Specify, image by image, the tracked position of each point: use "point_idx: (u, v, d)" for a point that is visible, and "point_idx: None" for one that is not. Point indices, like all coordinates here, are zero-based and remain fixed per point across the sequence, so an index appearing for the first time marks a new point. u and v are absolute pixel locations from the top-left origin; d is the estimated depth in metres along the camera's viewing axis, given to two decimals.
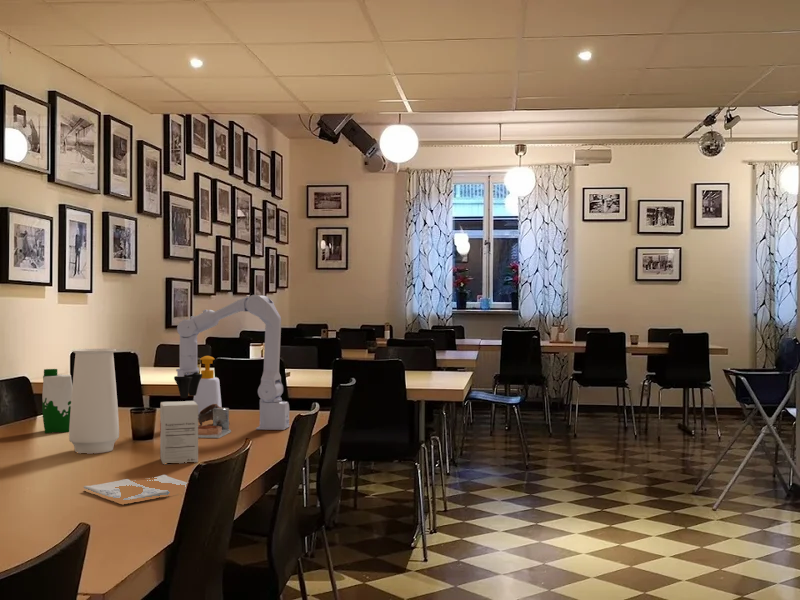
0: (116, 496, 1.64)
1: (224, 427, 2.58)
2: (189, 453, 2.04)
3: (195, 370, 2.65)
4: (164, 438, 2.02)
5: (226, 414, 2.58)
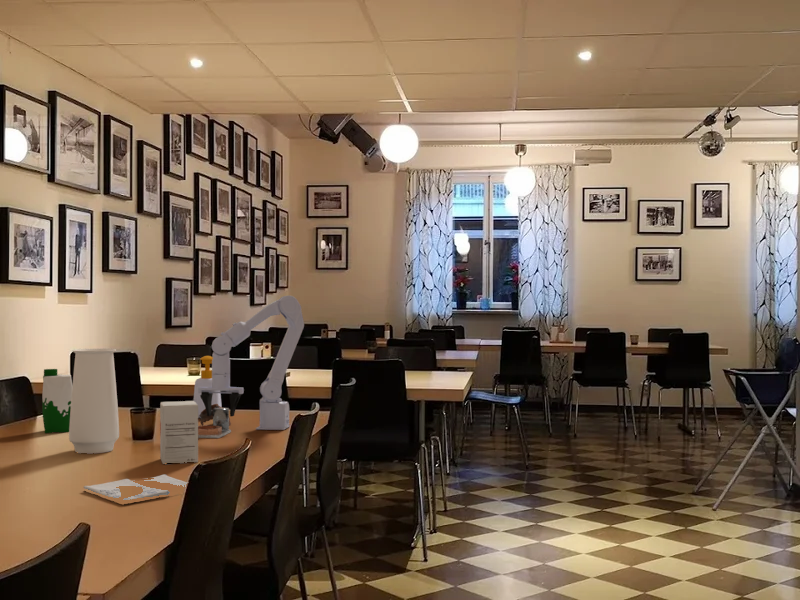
0: (116, 496, 1.64)
1: (224, 427, 2.58)
2: (189, 453, 2.04)
3: (214, 389, 2.57)
4: (164, 438, 2.02)
5: (226, 414, 2.58)
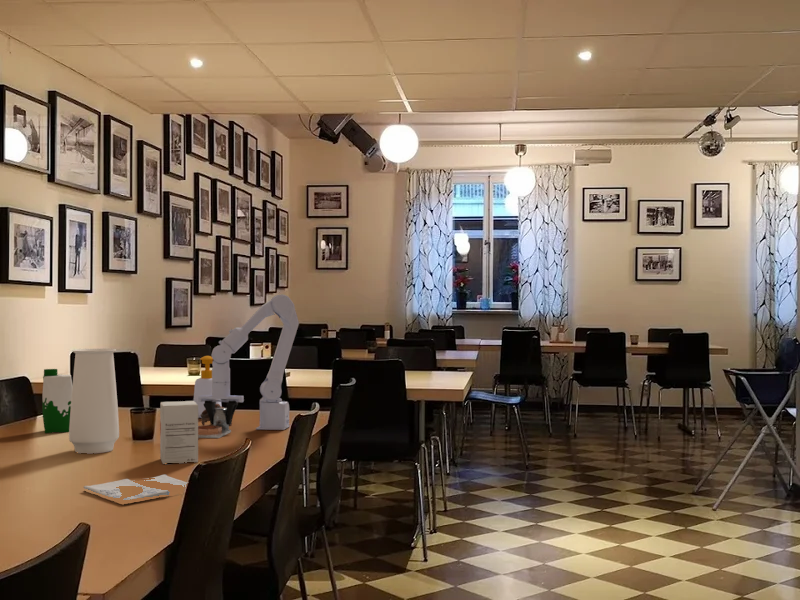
0: (116, 496, 1.64)
1: (224, 427, 2.58)
2: (189, 453, 2.04)
3: (214, 397, 2.57)
4: (164, 438, 2.02)
5: (226, 414, 2.58)
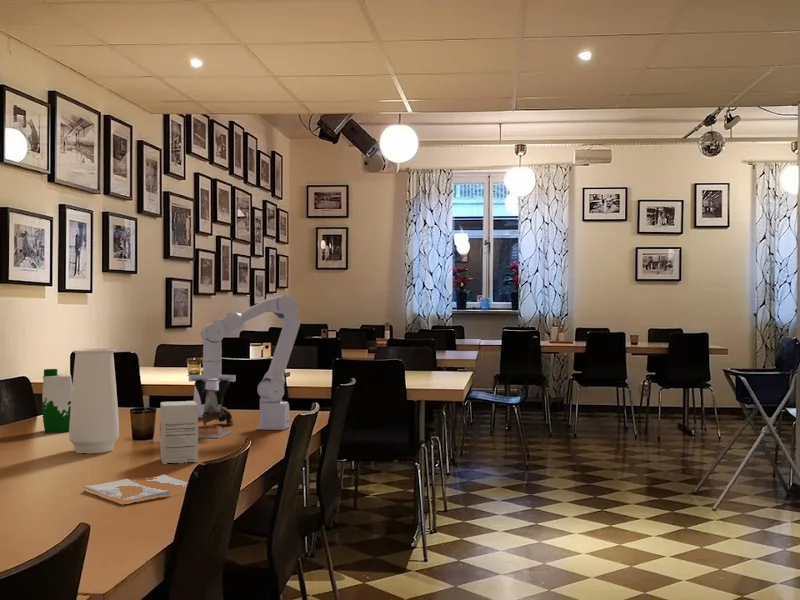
0: (116, 496, 1.64)
1: (216, 408, 2.53)
2: (189, 453, 2.04)
3: (206, 377, 2.51)
4: (164, 438, 2.02)
5: (218, 395, 2.53)
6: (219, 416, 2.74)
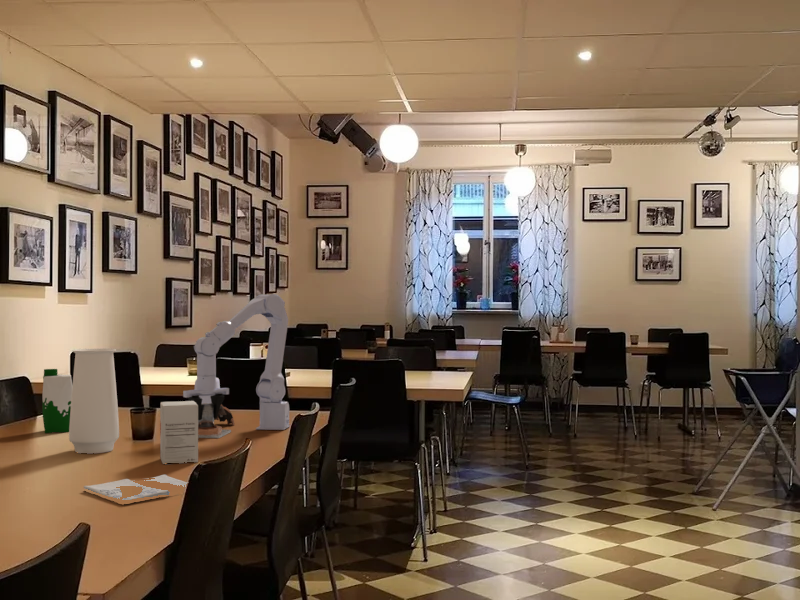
0: (116, 496, 1.64)
1: (213, 422, 2.50)
2: (189, 453, 2.04)
3: (207, 391, 2.47)
4: (164, 438, 2.02)
5: (213, 409, 2.51)
6: (220, 416, 2.74)
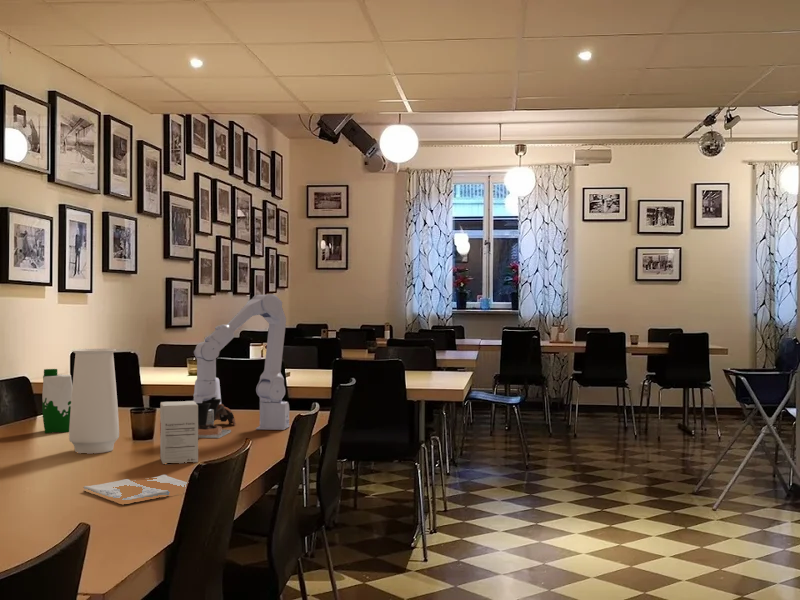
0: (116, 496, 1.64)
1: None
2: (189, 453, 2.04)
3: (214, 395, 2.49)
4: (164, 438, 2.02)
5: None
6: (221, 416, 2.74)
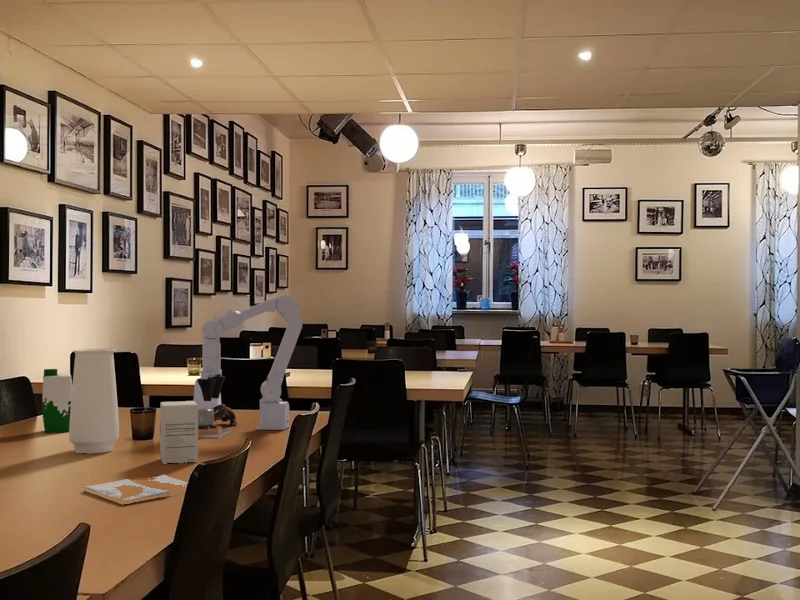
0: (116, 496, 1.64)
1: None
2: (189, 453, 2.04)
3: (218, 372, 2.58)
4: (164, 438, 2.02)
5: None
6: (222, 416, 2.74)
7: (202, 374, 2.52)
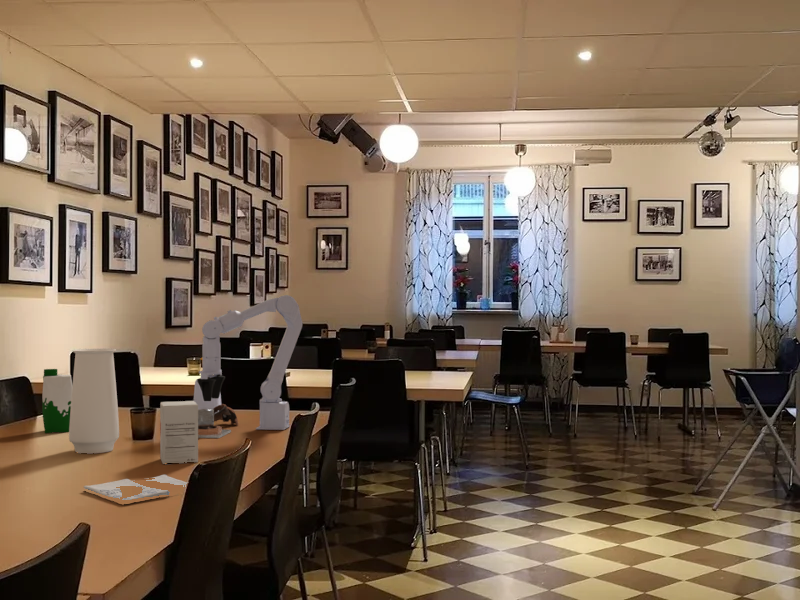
0: (116, 496, 1.64)
1: None
2: (189, 453, 2.04)
3: (218, 372, 2.58)
4: (164, 438, 2.02)
5: None
6: (223, 417, 2.74)
7: (202, 374, 2.52)
